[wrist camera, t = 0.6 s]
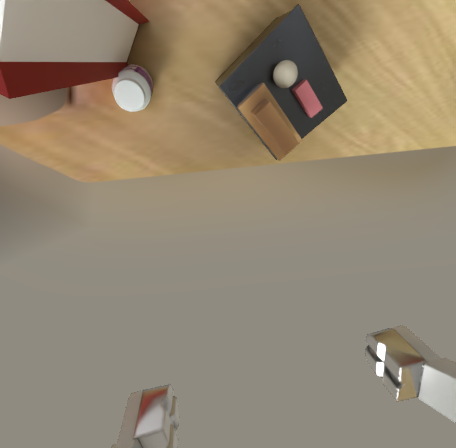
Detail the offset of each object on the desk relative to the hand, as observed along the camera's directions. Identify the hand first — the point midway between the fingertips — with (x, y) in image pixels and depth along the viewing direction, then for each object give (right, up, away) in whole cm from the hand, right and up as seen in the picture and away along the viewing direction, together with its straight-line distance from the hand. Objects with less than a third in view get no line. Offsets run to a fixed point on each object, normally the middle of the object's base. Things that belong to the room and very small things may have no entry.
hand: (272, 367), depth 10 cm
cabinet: (+5, +30, +34) cm, 46 cm away
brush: (+4, +22, +27) cm, 35 cm away
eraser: (+10, +24, +26) cm, 37 cm away
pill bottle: (-17, +29, +31) cm, 46 cm away
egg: (+6, +27, +24) cm, 36 cm away
